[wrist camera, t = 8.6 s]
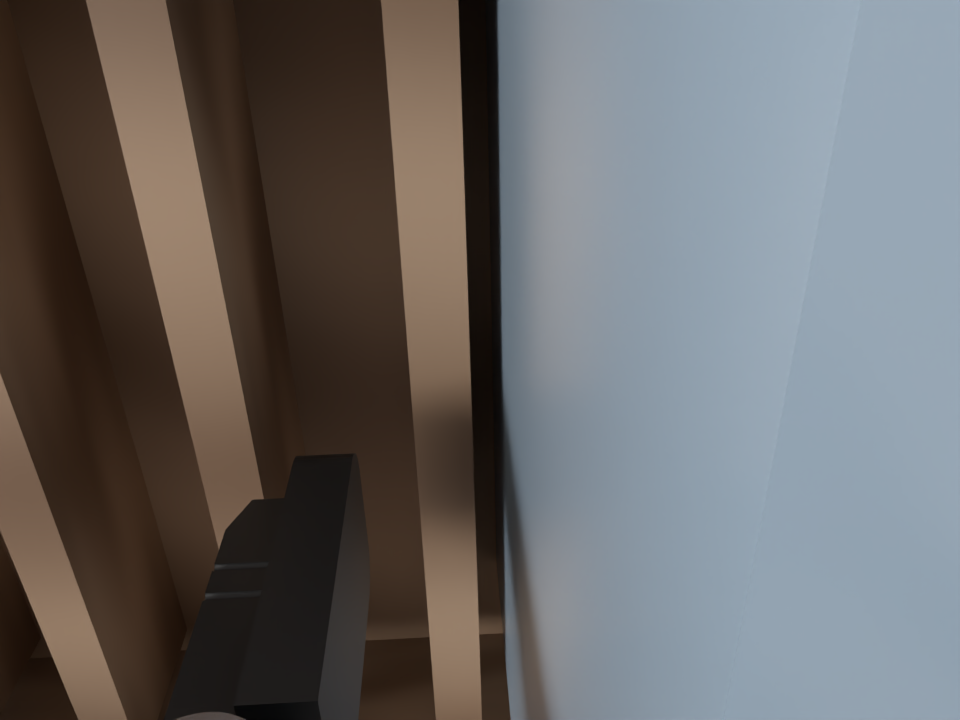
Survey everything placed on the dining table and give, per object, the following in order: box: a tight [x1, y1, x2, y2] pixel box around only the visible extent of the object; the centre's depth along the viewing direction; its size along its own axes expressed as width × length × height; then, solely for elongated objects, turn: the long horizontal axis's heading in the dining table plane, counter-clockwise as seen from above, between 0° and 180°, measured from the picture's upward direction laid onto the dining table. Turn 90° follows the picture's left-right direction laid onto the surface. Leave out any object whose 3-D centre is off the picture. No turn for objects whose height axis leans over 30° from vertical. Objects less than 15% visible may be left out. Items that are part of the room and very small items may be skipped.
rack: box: [0, 0, 511, 720], centre depth 13 cm, size 16×16×5 cm
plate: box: [485, 0, 960, 720], centre depth 9 cm, size 12×1×11 cm, turn 1°
